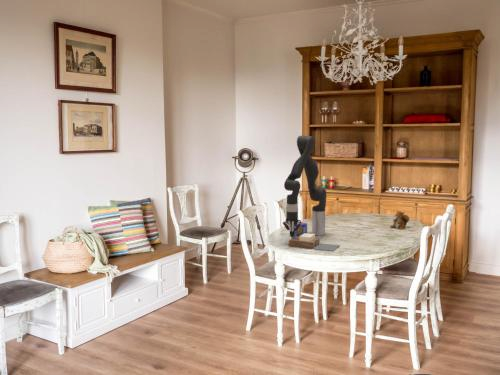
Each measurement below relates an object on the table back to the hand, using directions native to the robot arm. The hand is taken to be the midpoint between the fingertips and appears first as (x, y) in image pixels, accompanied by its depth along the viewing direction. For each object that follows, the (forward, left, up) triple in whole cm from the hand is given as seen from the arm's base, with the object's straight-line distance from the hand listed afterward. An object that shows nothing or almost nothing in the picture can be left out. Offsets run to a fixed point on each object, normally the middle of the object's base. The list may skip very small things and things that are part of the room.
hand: (292, 236), depth 323 cm
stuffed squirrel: (-83, +55, -5) cm, 100 cm away
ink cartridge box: (-12, +1, -5) cm, 13 cm away
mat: (0, +24, -5) cm, 24 cm away
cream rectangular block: (0, +11, 0) cm, 11 cm away
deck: (0, +9, -5) cm, 10 cm away
